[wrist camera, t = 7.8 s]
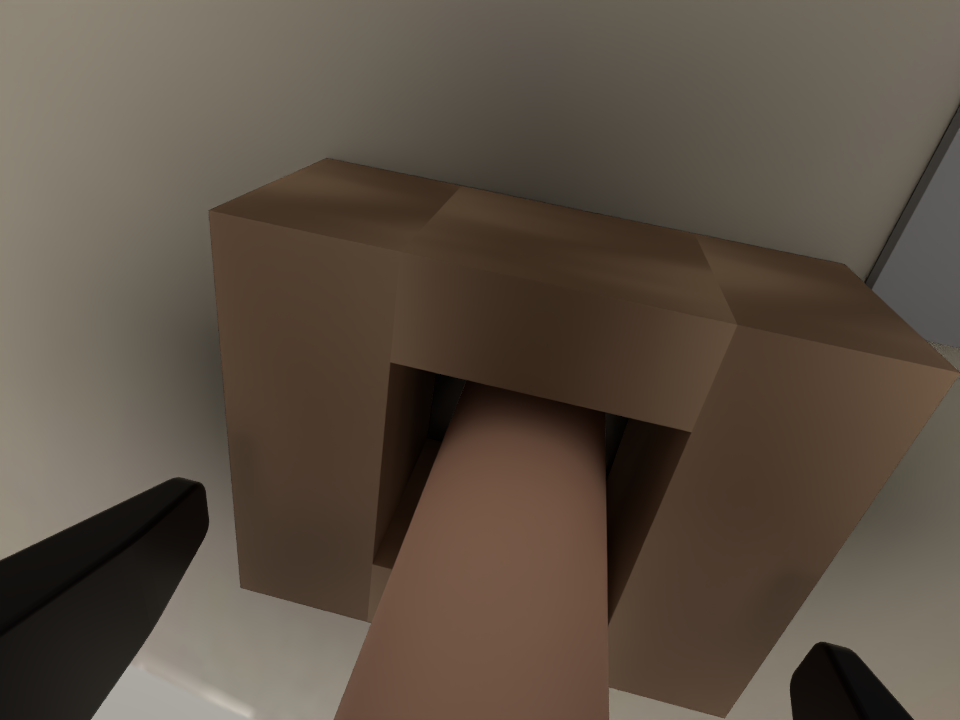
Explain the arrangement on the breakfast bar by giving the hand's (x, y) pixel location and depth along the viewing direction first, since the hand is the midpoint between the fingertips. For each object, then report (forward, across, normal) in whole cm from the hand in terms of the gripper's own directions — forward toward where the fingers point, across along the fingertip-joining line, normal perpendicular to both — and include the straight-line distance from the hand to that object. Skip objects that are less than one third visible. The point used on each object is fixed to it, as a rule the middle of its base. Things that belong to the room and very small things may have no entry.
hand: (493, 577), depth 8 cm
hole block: (+6, 0, 0) cm, 6 cm away
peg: (+6, 0, 0) cm, 6 cm away
